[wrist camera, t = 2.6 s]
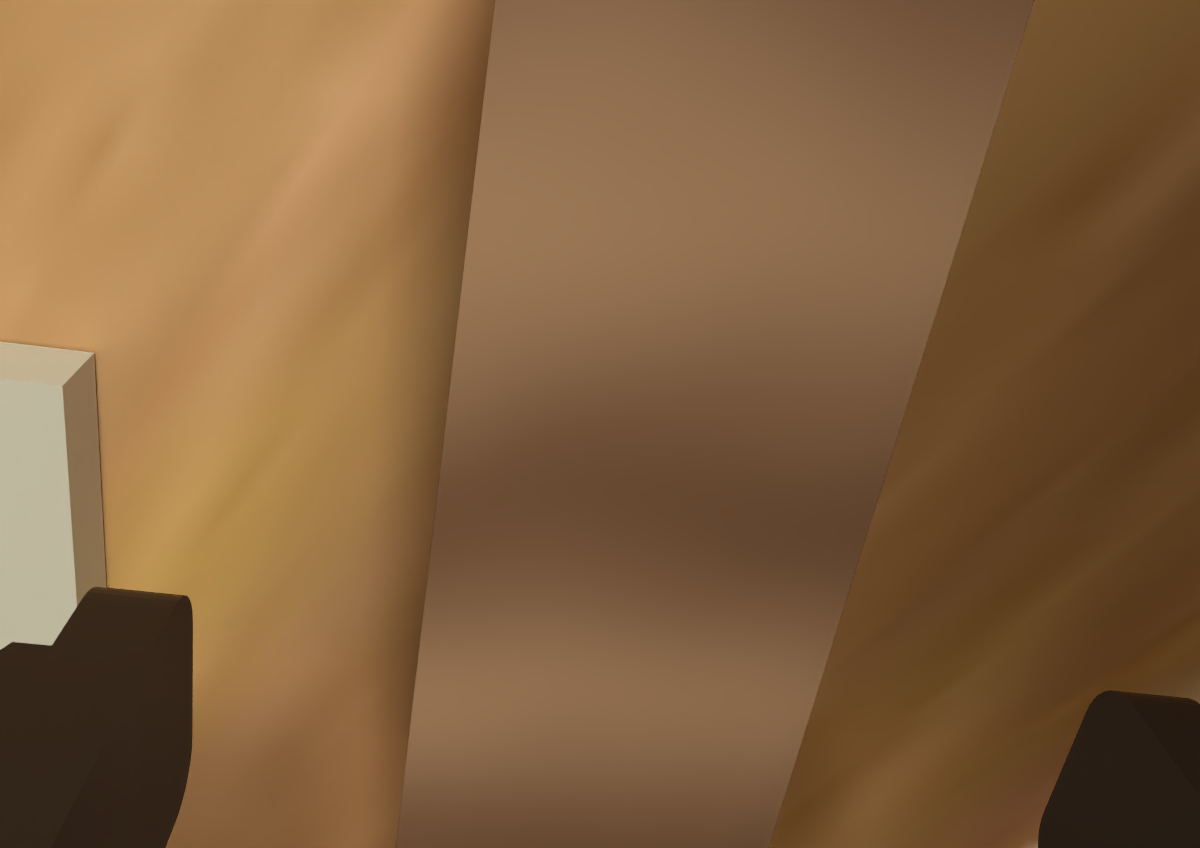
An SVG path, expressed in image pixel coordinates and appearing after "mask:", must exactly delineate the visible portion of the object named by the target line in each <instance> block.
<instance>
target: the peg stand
mask: <svg viewBox="0 0 1200 848" xmlns="http://www.w3.org/2000/svg"><path fill="white" fill-rule="evenodd" d="M93 587H104V588H107V587H106V568H105V549H104V529H103V510H102V491H101V472H100V453H99V433H98V414H97V395H96V376H95V357H94V353H92V352H84V351H76V350H67V349H59V348H50V347H42V346H34V345H25V344H17V343H8V342H0V650H1V649H2V648H4V647H5V646H7V645H8V644H10V643H11V642H19V643H29V644H40V645H51V646H52V644H53V643H54V641H55V640H56V638H57V637H58V635H59V634H60V632H61V631H62V629H63V627H64V626H65V624H66V623H67V621H68V620H69V618H70V617H71V615H72V614H73V612H74V611H75V609H76V607H77V606H78V604H79V603H80V601H81V600H82V598H83V597H84V596H85V594H86V593H87V592H88V591H89V590H90V589H91V588H93Z"/></svg>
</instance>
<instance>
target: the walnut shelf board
mask: <svg viewBox="0 0 1200 848" xmlns="http://www.w3.org/2000/svg"><path fill="white" fill-rule="evenodd" d="M1033 3H1034V0H495V6H494V15H493V23H492V32H491V41H490V49H489V58H488V66H487V75H486V83H485V92H484V100H483V109H482V117H481V126H480V134H479V143H478V151H477V160H476V168H475V177H474V186H473V194H472V203H471V211H470V220H469V228H468V237H467V245H466V254H465V262H464V271H463V279H462V288H461V296H460V305H459V313H458V322H457V330H456V339H455V348H454V356H453V365H452V373H451V382H450V390H449V399H448V407H447V416H446V424H445V433H444V441H443V450H442V458H441V467H440V475H439V484H438V492H437V501H436V510H435V518H434V527H433V535H432V544H431V552H430V561H429V569H428V578H427V586H426V595H425V603H424V612H423V620H422V629H421V637H420V646H419V654H418V663H417V672H416V680H415V689H414V697H413V706H412V714H411V723H410V731H409V740H408V748H407V757H406V765H405V774H404V782H403V791H402V799H401V808H400V816H399V825H398V834H397V842H396V848H769V845H770V841H771V838H772V835H773V832H774V829H775V826H776V822H777V819H778V816H779V813H780V810H781V806H782V803H783V800H784V797H785V794H786V790H787V787H788V784H789V781H790V778H791V775H792V771H793V768H794V765H795V762H796V759H797V755H798V752H799V749H800V746H801V743H802V739H803V736H804V733H805V730H806V727H807V724H808V720H809V717H810V714H811V711H812V708H813V704H814V701H815V698H816V695H817V692H818V688H819V685H820V682H821V679H822V676H823V672H824V669H825V666H826V663H827V660H828V657H829V653H830V650H831V647H832V644H833V641H834V637H835V634H836V631H837V628H838V625H839V621H840V618H841V615H842V612H843V609H844V606H845V602H846V599H847V596H848V593H849V590H850V586H851V583H852V580H853V577H854V574H855V570H856V567H857V564H858V561H859V558H860V554H861V551H862V548H863V545H864V542H865V539H866V535H867V532H868V529H869V526H870V523H871V519H872V516H873V513H874V510H875V507H876V503H877V500H878V497H879V494H880V491H881V488H882V484H883V481H884V478H885V475H886V472H887V468H888V465H889V462H890V459H891V456H892V452H893V449H894V446H895V443H896V440H897V437H898V433H899V430H900V427H901V424H902V421H903V417H904V414H905V411H906V408H907V405H908V401H909V398H910V395H911V392H912V389H913V385H914V382H915V379H916V376H917V373H918V370H919V366H920V363H921V360H922V357H923V354H924V350H925V347H926V344H927V341H928V338H929V334H930V331H931V328H932V325H933V322H934V319H935V315H936V312H937V309H938V306H939V303H940V299H941V296H942V293H943V290H944V287H945V283H946V280H947V277H948V274H949V271H950V267H951V264H952V261H953V258H954V255H955V252H956V248H957V245H958V242H959V239H960V236H961V232H962V229H963V226H964V223H965V220H966V216H967V213H968V210H969V207H970V204H971V201H972V197H973V194H974V191H975V188H976V185H977V181H978V178H979V175H980V172H981V169H982V165H983V162H984V159H985V156H986V153H987V150H988V146H989V143H990V140H991V137H992V134H993V130H994V127H995V124H996V121H997V118H998V114H999V111H1000V108H1001V105H1002V102H1003V98H1004V95H1005V92H1006V89H1007V86H1008V83H1009V79H1010V76H1011V73H1012V70H1013V67H1014V63H1015V60H1016V57H1017V54H1018V51H1019V47H1020V44H1021V41H1022V38H1023V35H1024V32H1025V28H1026V25H1027V22H1028V19H1029V16H1030V12H1031V9H1032V6H1033Z"/></svg>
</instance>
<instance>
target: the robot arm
mask: <svg viewBox="0 0 1200 848" xmlns="http://www.w3.org/2000/svg"><path fill="white" fill-rule="evenodd" d="M192 675H193V616H192V606H191V602H190V600H189V598H188V597H187V596H184V595H174V594H164V593H154V592H144V591H134V590H124V589H114V588H104V587H93V588H91V589H90V590H89V591H88V592H87V593H86V594H85V596H84V597H83V598H82V600H81V601H80V603H79V604H78V606H77V607H76V609H75V611H74V612H73V614H72V615H71V617H70V618H69V620H68V621H67V623H66V624H65V626H64V627H63V629H62V631H61V632H60V634H59V635H58V637H57V638H56V640H55V641H54V643H53V644H52V646H51V645H40V644H29V643H19V642H11V643H10V644H8V645H7V646H5V647H4V648H2V649H1V650H0V848H165V847H166V844H167V842H168V839H169V837H170V834H171V832H172V829H173V826H174V824H175V821H176V819H177V816H178V813H179V810H180V807H181V803H182V800H183V796H184V792H185V788H186V783H187V778H188V773H189V766H190V759H191V750H192ZM1038 848H1200V704H1199V703H1198V702H1196V701H1194V700H1192V699H1189V698H1180V697H1170V696H1160V695H1150V694H1140V693H1130V692H1120V691H1105V692H1103V693H1101V694H1099V695H1098V696H1097V697H1096V698H1095V699H1094V700H1093V701H1092V703H1091V704H1090V706H1089V708H1088V710H1087V712H1086V714H1085V716H1084V719H1083V721H1082V723H1081V726H1080V728H1079V730H1078V733H1077V735H1076V738H1075V740H1074V742H1073V745H1072V747H1071V749H1070V752H1069V754H1068V756H1067V759H1066V761H1065V764H1064V766H1063V768H1062V771H1061V773H1060V775H1059V778H1058V780H1057V782H1056V785H1055V787H1054V790H1053V792H1052V794H1051V797H1050V799H1049V801H1048V804H1047V806H1046V808H1045V811H1044V813H1043V816H1042V819H1041V824H1040V828H1039V837H1038Z"/></svg>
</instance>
